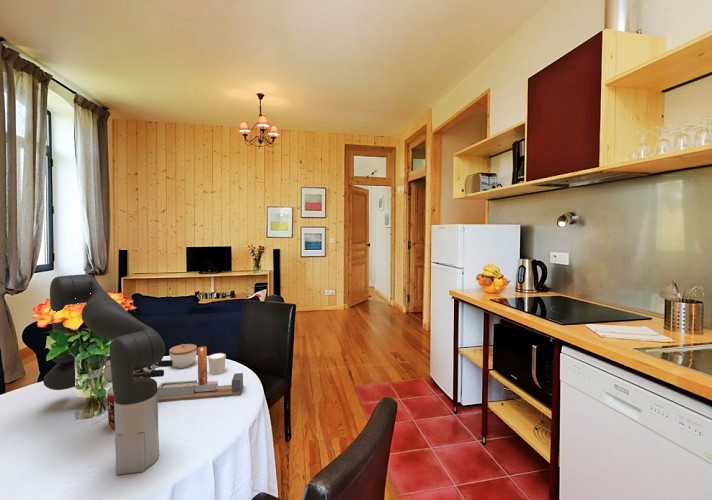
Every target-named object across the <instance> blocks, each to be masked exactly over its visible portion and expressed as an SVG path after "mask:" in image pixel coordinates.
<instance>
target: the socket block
mask: <svg viewBox="0 0 712 500" xmlns="http://www.w3.org/2000/svg"><path fill="white" fill-rule="evenodd" d="M231 385H232V393H236V392H241V390H242V391H243V389H242V387H243V388H244V372H239V373H234V374H233V377H232V379H231ZM241 393H242V392H241Z"/></svg>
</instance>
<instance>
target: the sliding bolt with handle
mask: <svg viewBox="0 0 712 500" xmlns="http://www.w3.org/2000/svg"><path fill="white" fill-rule="evenodd" d="M207 349H208V348H207V346H198V347H197V383H183V384H169V385H164V386H163V387H171V386H185V385H194V392H202V391H215V390H217V388H218V386H219V385H218V383H219V381H218V380H216V381H215V380H213V381H212V380H211V381H208V352H207Z"/></svg>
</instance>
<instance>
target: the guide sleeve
mask: <svg viewBox="0 0 712 500" xmlns="http://www.w3.org/2000/svg"><path fill="white" fill-rule="evenodd" d="M197 382H198V379H195V380H181V381H168V382H166V381H165V382H161V383H160V384H159V385H157V393H158V397H160V398H161V397H174V396H186V395H194V385H185V386H171V387H163V386H164V385H169V384H183V383H197Z"/></svg>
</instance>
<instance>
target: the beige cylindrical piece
mask: <svg viewBox="0 0 712 500" xmlns="http://www.w3.org/2000/svg"><path fill="white" fill-rule="evenodd" d="M226 357H227V354H226V353H223V352H217V353H212V354H210V355H208V356H207V362H208V367H209V368H208V369H209V374H210V375H212V376H219V375H221V374H224V373H225V371H226V370H225V369H226Z"/></svg>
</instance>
